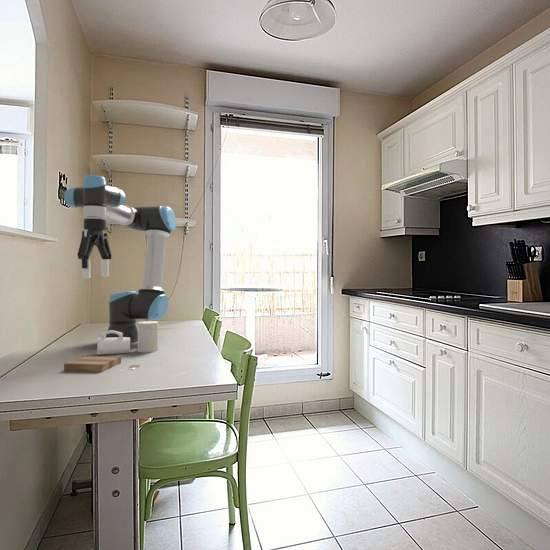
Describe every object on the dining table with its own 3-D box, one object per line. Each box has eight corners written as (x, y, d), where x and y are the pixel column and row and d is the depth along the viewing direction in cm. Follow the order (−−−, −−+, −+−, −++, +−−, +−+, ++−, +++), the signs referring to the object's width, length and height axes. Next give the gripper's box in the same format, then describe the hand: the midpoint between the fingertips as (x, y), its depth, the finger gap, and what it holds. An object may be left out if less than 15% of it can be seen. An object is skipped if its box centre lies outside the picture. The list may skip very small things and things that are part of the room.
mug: (129, 356, 165) (97, 358, 160) (129, 348, 170) (97, 350, 166) (131, 333, 162) (97, 334, 157) (130, 326, 168) (97, 327, 163)
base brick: (86, 364, 148) (86, 355, 148) (120, 365, 147) (121, 356, 147) (64, 372, 135) (64, 363, 135) (101, 374, 134) (102, 364, 134)
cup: (147, 354, 164) (147, 324, 164) (133, 352, 169) (133, 322, 168) (162, 351, 171) (162, 322, 171) (149, 349, 175) (149, 320, 175)
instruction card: (127, 364, 145) (127, 363, 145) (147, 364, 146) (147, 363, 146) (118, 371, 135) (118, 370, 135) (140, 371, 136) (140, 370, 136)
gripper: (101, 222, 163) (102, 275, 164) (65, 215, 138) (66, 278, 139) (120, 221, 163) (121, 275, 164) (87, 215, 138) (88, 278, 139)
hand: (96, 277), depth 151 cm, fingers open, 13 cm apart
